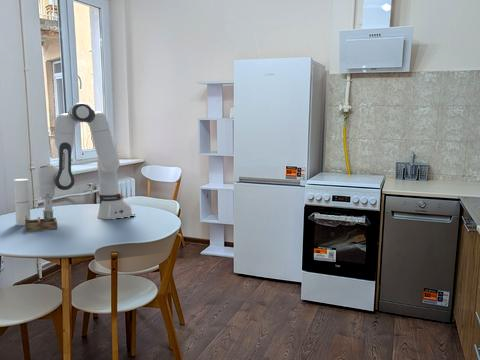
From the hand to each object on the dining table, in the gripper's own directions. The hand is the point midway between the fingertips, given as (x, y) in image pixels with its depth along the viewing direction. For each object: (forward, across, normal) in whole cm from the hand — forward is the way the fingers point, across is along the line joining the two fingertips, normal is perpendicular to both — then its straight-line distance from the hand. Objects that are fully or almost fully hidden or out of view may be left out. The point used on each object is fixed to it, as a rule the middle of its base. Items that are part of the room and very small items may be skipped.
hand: (48, 216), depth 235 cm
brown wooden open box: (+3, -15, +4) cm, 16 cm away
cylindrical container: (+3, 0, +13) cm, 13 cm away
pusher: (+2, -15, +5) cm, 16 cm away
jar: (+3, 0, 0) cm, 3 cm away
